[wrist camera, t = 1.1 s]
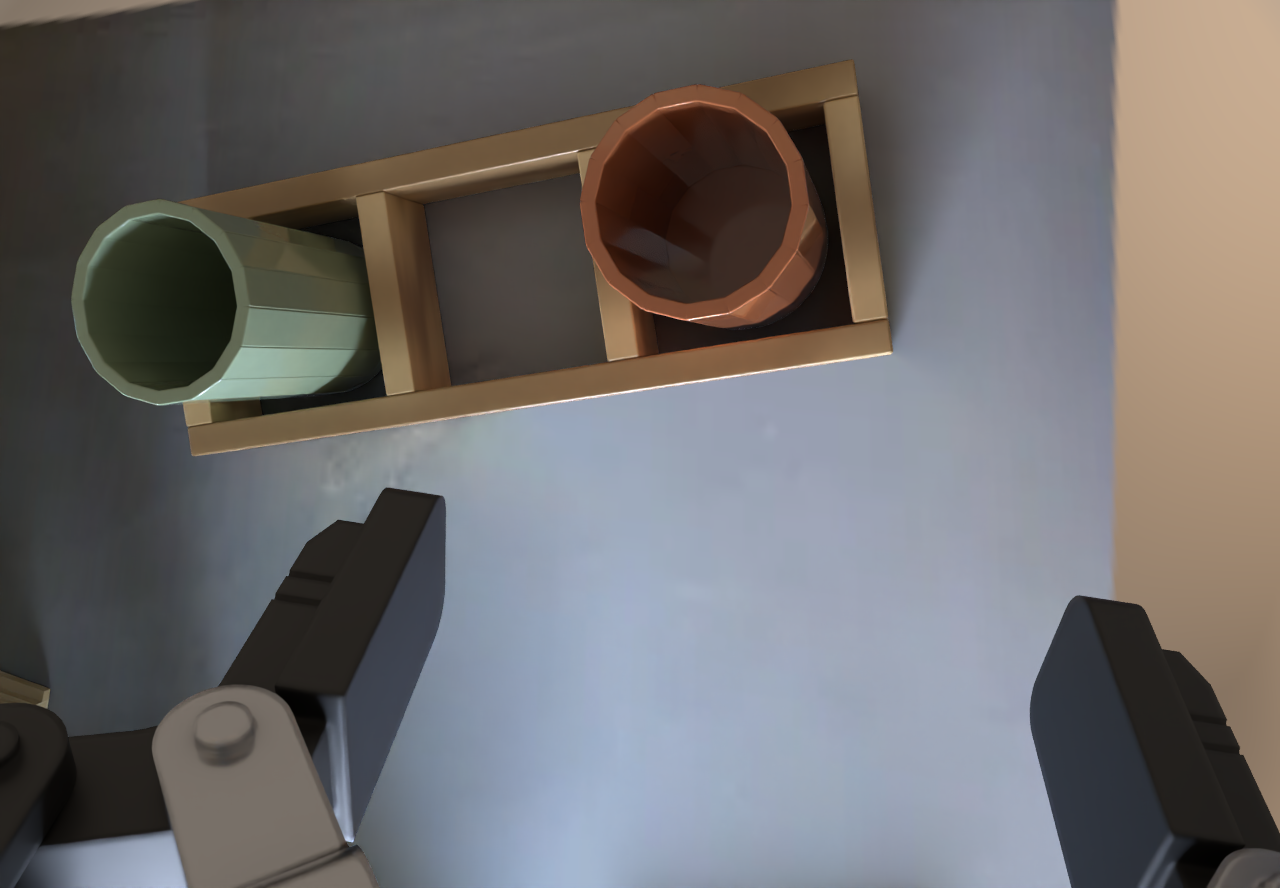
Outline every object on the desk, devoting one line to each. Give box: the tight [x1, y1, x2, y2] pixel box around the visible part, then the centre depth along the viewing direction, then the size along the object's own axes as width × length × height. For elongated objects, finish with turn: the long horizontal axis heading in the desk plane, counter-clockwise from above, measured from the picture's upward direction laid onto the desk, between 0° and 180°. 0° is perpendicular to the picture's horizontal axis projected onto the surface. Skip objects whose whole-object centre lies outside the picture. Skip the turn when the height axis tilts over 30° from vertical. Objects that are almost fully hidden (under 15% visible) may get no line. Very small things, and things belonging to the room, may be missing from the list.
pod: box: [71, 199, 382, 406], centre depth 33 cm, size 5×5×9 cm
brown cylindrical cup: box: [580, 84, 829, 330], centre depth 30 cm, size 5×5×9 cm
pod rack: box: [178, 59, 893, 456], centre depth 34 cm, size 8×23×3 cm, turn 99°
